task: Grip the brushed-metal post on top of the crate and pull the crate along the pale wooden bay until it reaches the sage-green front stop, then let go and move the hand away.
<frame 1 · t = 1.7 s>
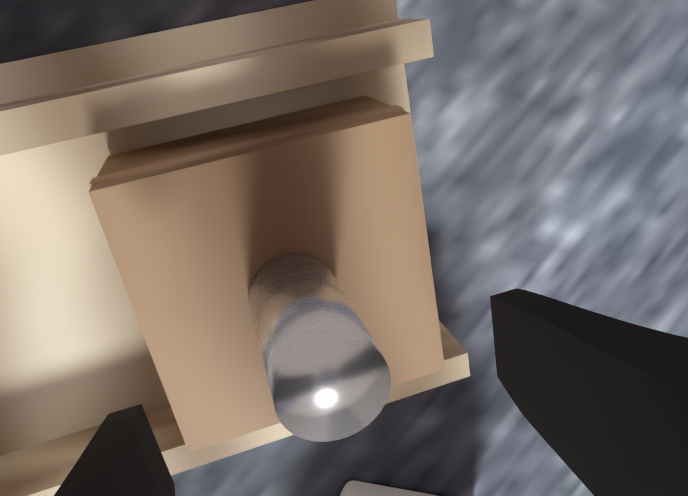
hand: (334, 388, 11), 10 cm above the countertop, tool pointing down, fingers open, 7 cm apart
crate: (294, 298, 15), point 6 cm above the countertop, slide at 9.0 cm
bay: (137, 265, 19), on the countertop
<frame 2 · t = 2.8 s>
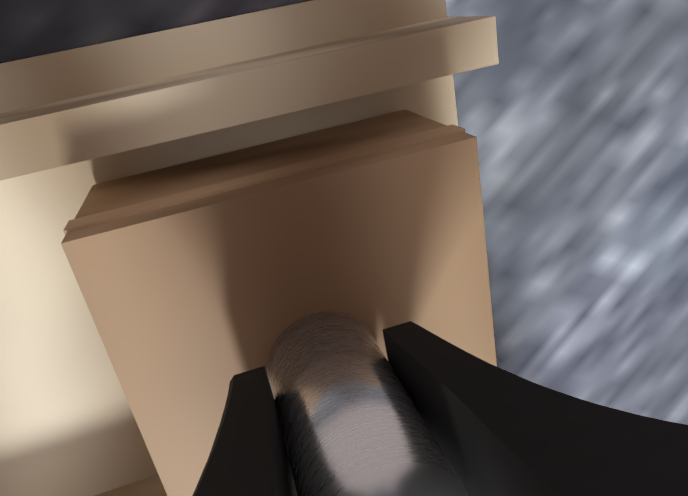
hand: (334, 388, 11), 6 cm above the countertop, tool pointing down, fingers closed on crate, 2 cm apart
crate: (326, 369, 12), point 6 cm above the countertop, slide at 9.0 cm, touching gripper
bay: (131, 311, 16), on the countertop
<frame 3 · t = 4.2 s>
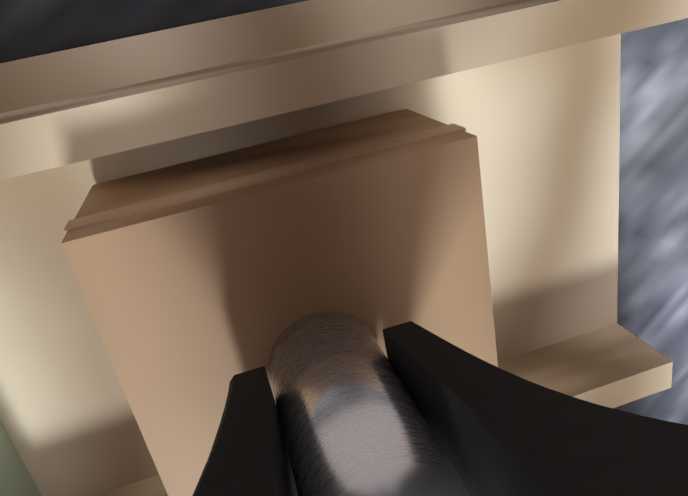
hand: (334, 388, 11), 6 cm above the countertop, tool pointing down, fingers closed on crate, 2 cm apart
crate: (326, 368, 12), point 6 cm above the countertop, slide at 3.9 cm, touching gripper
bay: (303, 262, 17), on the countertop
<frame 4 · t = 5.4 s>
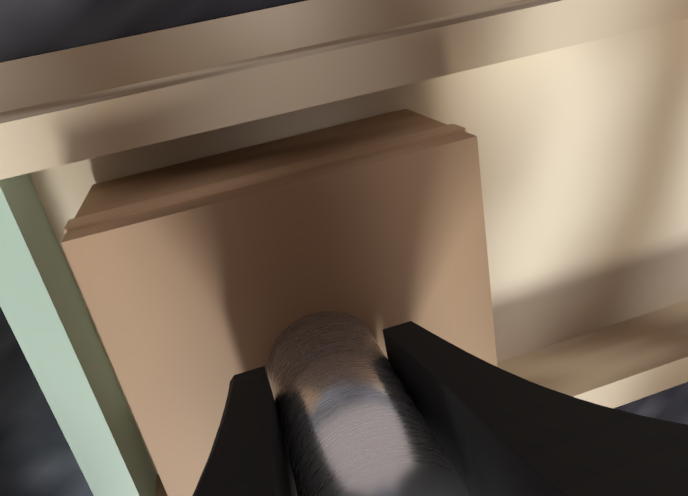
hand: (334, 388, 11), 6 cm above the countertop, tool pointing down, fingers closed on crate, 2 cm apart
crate: (326, 368, 12), point 6 cm above the countertop, slide at 0.8 cm, touching gripper
bay: (401, 235, 18), on the countertop
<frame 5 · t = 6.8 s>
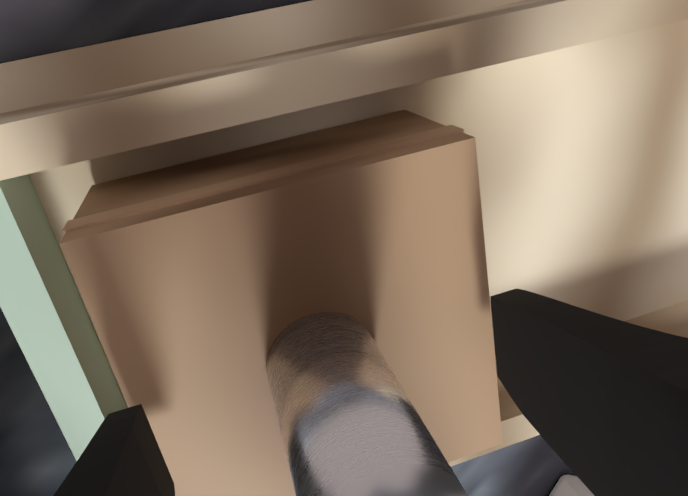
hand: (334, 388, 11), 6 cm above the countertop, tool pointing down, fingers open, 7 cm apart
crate: (325, 369, 12), point 6 cm above the countertop, slide at 0.8 cm
bay: (400, 235, 18), on the countertop
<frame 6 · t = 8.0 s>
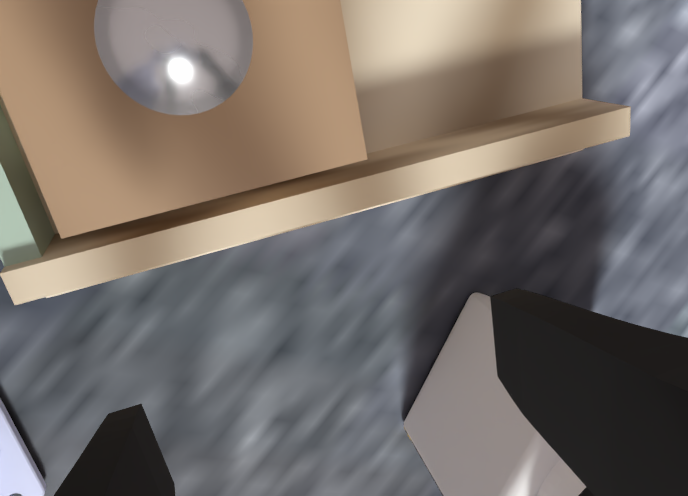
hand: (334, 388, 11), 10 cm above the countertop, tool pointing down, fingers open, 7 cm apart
medicine bottle: (493, 374, 27), on the countertop
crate: (175, 34, 13), point 5 cm above the countertop, slide at 0.8 cm
bay: (290, 9, 19), on the countertop
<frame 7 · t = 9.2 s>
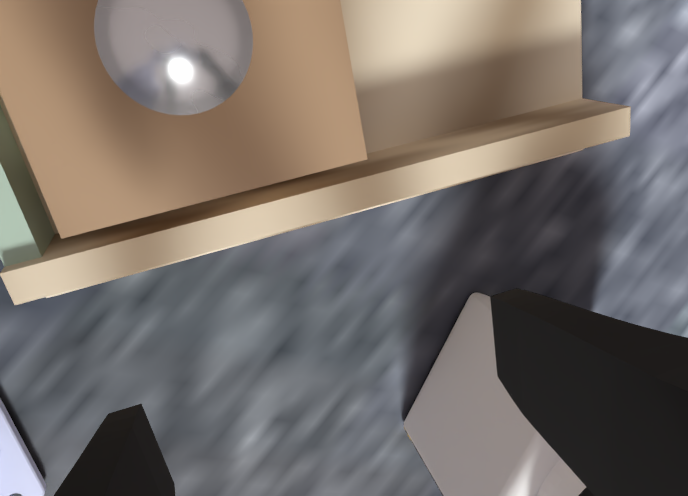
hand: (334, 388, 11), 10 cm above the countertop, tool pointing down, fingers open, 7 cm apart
medicine bottle: (493, 374, 27), on the countertop
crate: (175, 34, 13), point 5 cm above the countertop, slide at 0.8 cm
bay: (290, 9, 19), on the countertop
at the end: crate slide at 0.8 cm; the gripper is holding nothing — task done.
